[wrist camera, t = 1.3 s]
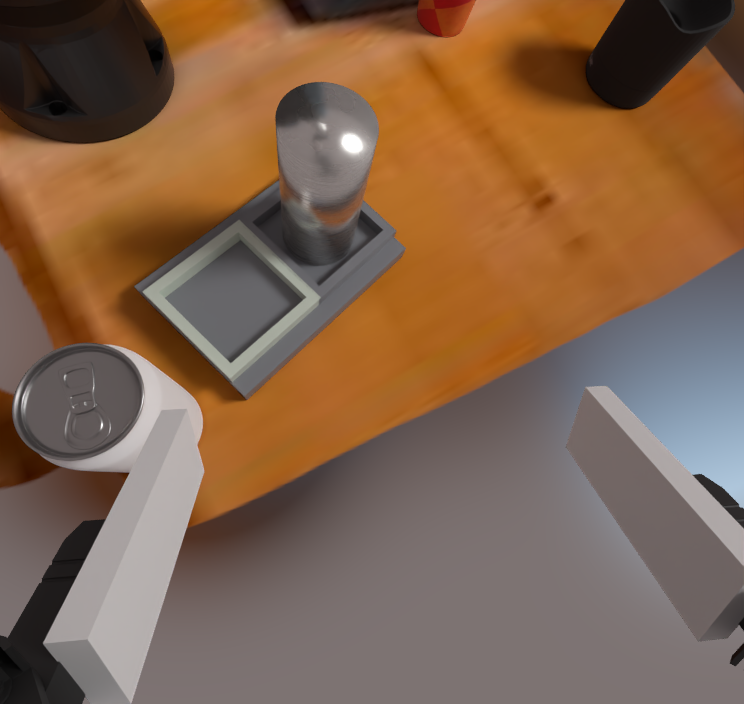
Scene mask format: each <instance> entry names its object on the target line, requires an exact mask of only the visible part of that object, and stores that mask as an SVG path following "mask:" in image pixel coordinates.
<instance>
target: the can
mask: <svg viewBox="0 0 744 704" xmlns="http://www.w3.org/2000/svg"><path fill="white" fill-rule="evenodd" d="M172 409H187V411H188V414H189V418H190V421H191V425H192V428H193V432H194V436H195V439H196V443H197V444H198V442H199V440H200V437H201V433H202V428H203V418H202V413H201V410H200V407H199V405H198V403H197V402H196V400H195V399H194V398H193V396H192V395H191V394H189V393H188V392H187V391H186V390H185V389H184V388H182V387H181V386H180V385H179V384H177V383H176V382H175V381H173V380H172V379H171V378H170V377H168V376H167V375H166V374H164V373H163V372H162V371H161V370H159V369H158V368H157V367H155V366H154V365H153V364H151V363H150V362H149V361H147V360H146V359H144V358H143V357H141V356H140V355H138V354H137V353H135V352H133V351H130V350H128V349H125V348H122V347H119V346H114V345H103V344H97V343H79V344H72V345H68V346H65V347H62V348H59V349H57V350H54V351H52V352H50V353H49V354H47V355H45V356H44V357H42V358H41V359H40V360H38V361H37V362H36V363H35V364H34V365H33V366H32V367H31V368H30V369H29V370H28V371H27V372H26V373H25V375H24V376H23V378H22V379H21V381H20V383H19V385H18V387H17V389H16V391H15V395H14V398H13V404H12V416H13V422H14V425H15V428H16V430H17V433H18V434H19V436H20V438H21V439H22V440H23V441H24V443H25V444H26V445H27V446H28V447H30V448H31V449H32V450H34V451H35V452H37V453H39V454H40V455H41V456H42V457H43V458H45V459H46V460H48V461H49V462H51V463H53V464H56V465H58V466H61V467H65V468H68V469H73V470H82V471H98V472H99V471H100V472H127V473H130V471H131V469H132V467H133V465H134V463H135V462H136V460H137V458H138V456H139V454H140V452H141V450H142V448H143V446H144V444H145V442H146V440H147V438H148V436H149V434H150V432H151V430H152V428H153V426H154V424H155V422H156V420H157V418H158V416H159V414H160V412H161V410H172Z"/></svg>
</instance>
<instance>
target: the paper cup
mask: <svg viewBox="0 0 744 704" xmlns="http://www.w3.org/2000/svg"><path fill="white" fill-rule="evenodd" d="M475 1H476V0H419V3H418V10H417V17H418V20H419V22H420V24H421V25H422V26H423V27H424V28H425V29H426V30H427V31H429V32H430V33H432V34H434V35H437V36H441V37H452V36H455V35H457V34H459V33H460V32H461V31H462V29H463V27H464V25H465V23H466V21H467V19H468V17H469V15H470V12H471V10H472V8H473V6H474V3H475Z"/></svg>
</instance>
